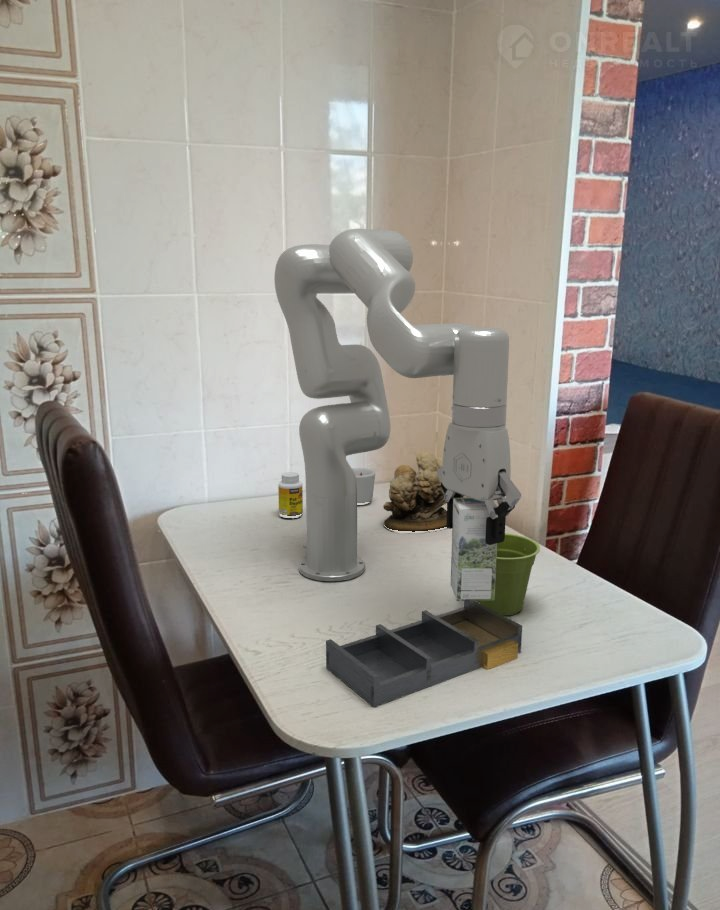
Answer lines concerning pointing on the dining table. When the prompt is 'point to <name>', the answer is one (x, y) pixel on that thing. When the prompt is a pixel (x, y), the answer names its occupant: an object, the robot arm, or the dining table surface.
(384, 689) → the tray
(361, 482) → the cup
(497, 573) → the plant pot
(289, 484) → the supplement bottle
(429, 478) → the brown lumpy piece
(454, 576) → the syrup box
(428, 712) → the dining table surface
